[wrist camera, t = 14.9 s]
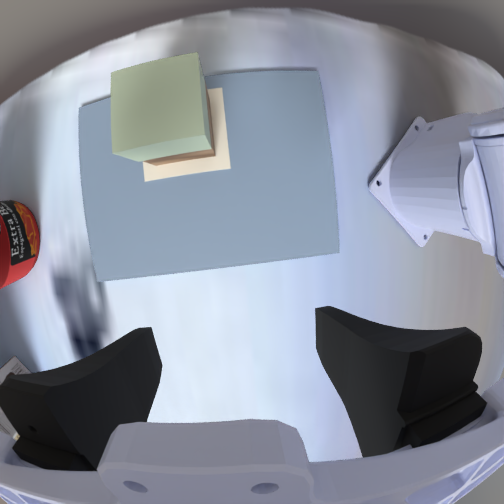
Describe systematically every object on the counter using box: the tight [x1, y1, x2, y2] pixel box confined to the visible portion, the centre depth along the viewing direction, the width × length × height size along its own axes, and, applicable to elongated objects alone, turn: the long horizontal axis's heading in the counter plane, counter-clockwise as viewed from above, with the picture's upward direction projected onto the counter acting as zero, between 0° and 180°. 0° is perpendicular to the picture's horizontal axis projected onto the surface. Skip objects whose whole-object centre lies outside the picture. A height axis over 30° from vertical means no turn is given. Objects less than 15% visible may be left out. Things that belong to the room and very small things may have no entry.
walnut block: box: [143, 82, 216, 166], centre depth 17 cm, size 4×4×4 cm
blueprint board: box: [79, 70, 340, 282], centre depth 20 cm, size 20×15×1 cm
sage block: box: [111, 52, 211, 162], centre depth 13 cm, size 4×4×4 cm
